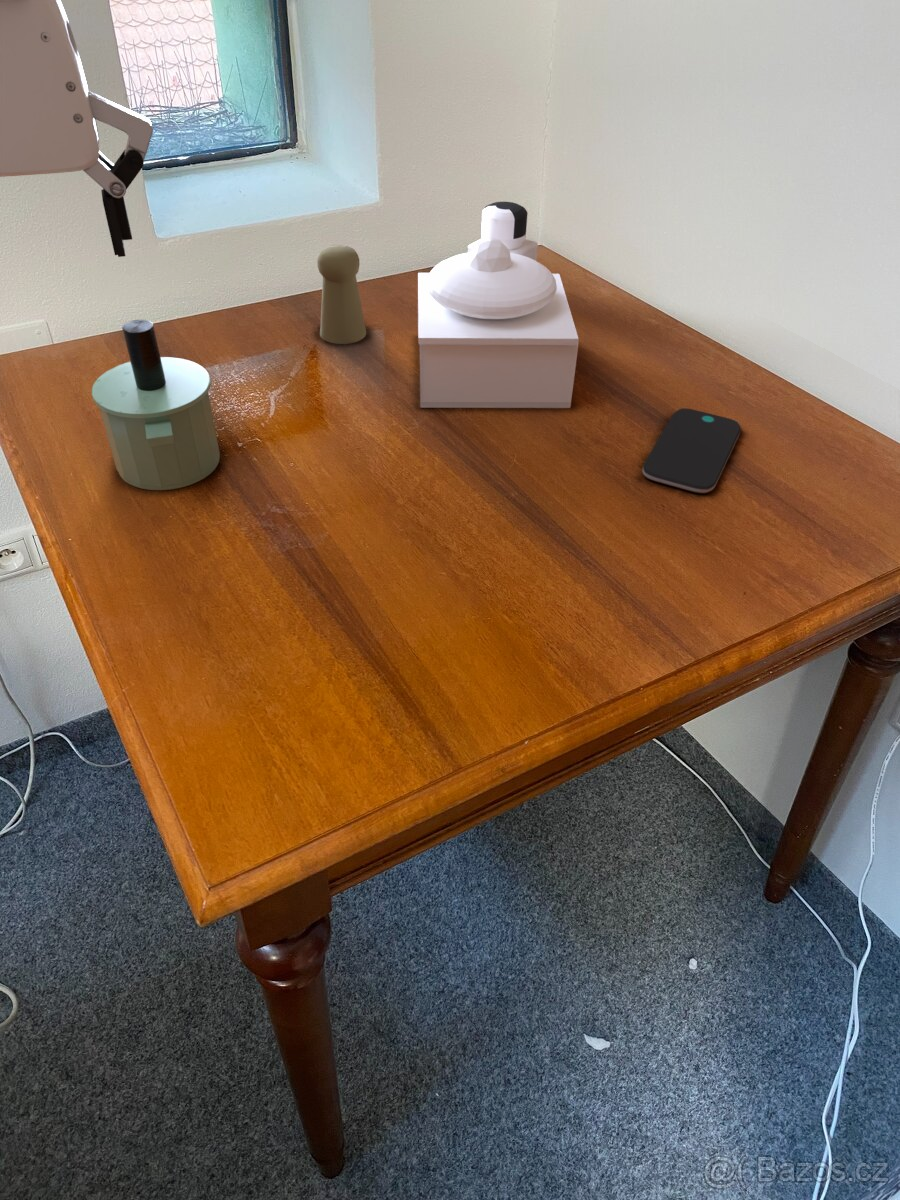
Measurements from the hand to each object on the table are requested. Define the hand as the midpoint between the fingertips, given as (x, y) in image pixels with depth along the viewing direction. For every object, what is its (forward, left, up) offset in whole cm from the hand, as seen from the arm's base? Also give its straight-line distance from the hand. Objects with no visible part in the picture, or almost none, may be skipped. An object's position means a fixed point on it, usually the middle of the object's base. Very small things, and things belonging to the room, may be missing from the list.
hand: (49, 256), depth 63 cm
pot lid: (+4, +14, -19) cm, 24 cm away
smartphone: (+58, 0, -27) cm, 64 cm away
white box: (+43, +23, -27) cm, 56 cm away
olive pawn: (+28, +38, -27) cm, 54 cm away
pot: (+4, +14, -27) cm, 31 cm away
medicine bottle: (+52, +44, -27) cm, 73 cm away
